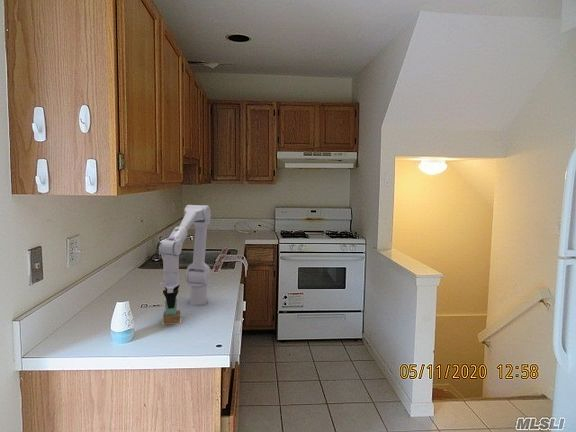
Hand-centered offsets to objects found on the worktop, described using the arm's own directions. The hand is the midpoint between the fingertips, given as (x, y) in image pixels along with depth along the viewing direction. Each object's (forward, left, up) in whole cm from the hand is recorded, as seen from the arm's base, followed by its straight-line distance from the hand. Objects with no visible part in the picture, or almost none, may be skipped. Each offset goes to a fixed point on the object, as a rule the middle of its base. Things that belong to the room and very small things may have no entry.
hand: (171, 305), depth 152 cm
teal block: (0, 0, -3) cm, 3 cm away
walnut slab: (0, 0, -6) cm, 6 cm away
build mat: (-4, -2, -6) cm, 8 cm away
